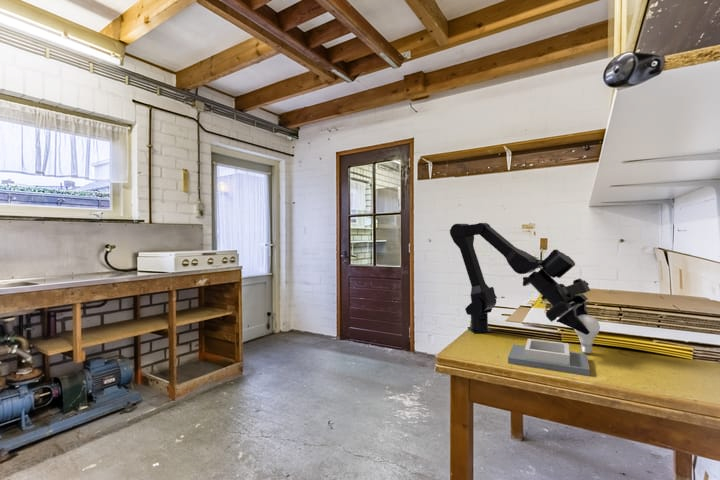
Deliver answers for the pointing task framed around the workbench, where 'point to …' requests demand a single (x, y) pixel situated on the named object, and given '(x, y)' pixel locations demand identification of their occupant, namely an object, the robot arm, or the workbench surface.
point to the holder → (549, 357)
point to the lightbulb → (589, 338)
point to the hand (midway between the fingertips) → (592, 331)
